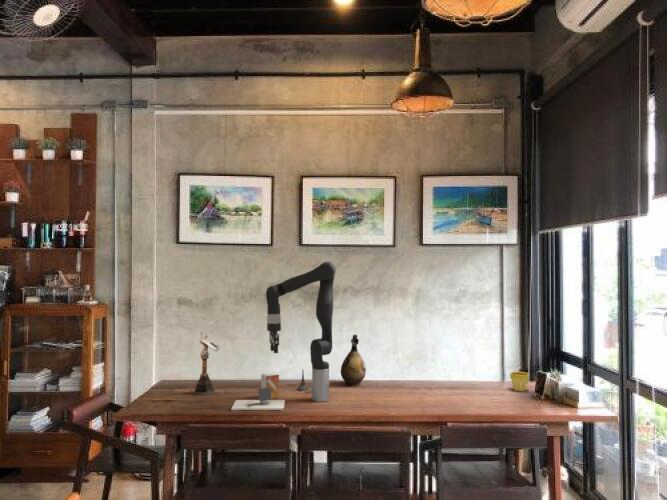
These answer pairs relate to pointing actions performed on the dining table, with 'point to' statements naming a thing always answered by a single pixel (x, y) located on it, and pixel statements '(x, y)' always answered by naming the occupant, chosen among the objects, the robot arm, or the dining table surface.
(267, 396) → the tuning knob
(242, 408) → the gauge board
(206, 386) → the pedestal telescope
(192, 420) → the dining table surface
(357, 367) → the ceramic jug
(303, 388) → the eiffel tower figurine
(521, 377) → the plant pot
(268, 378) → the small box
